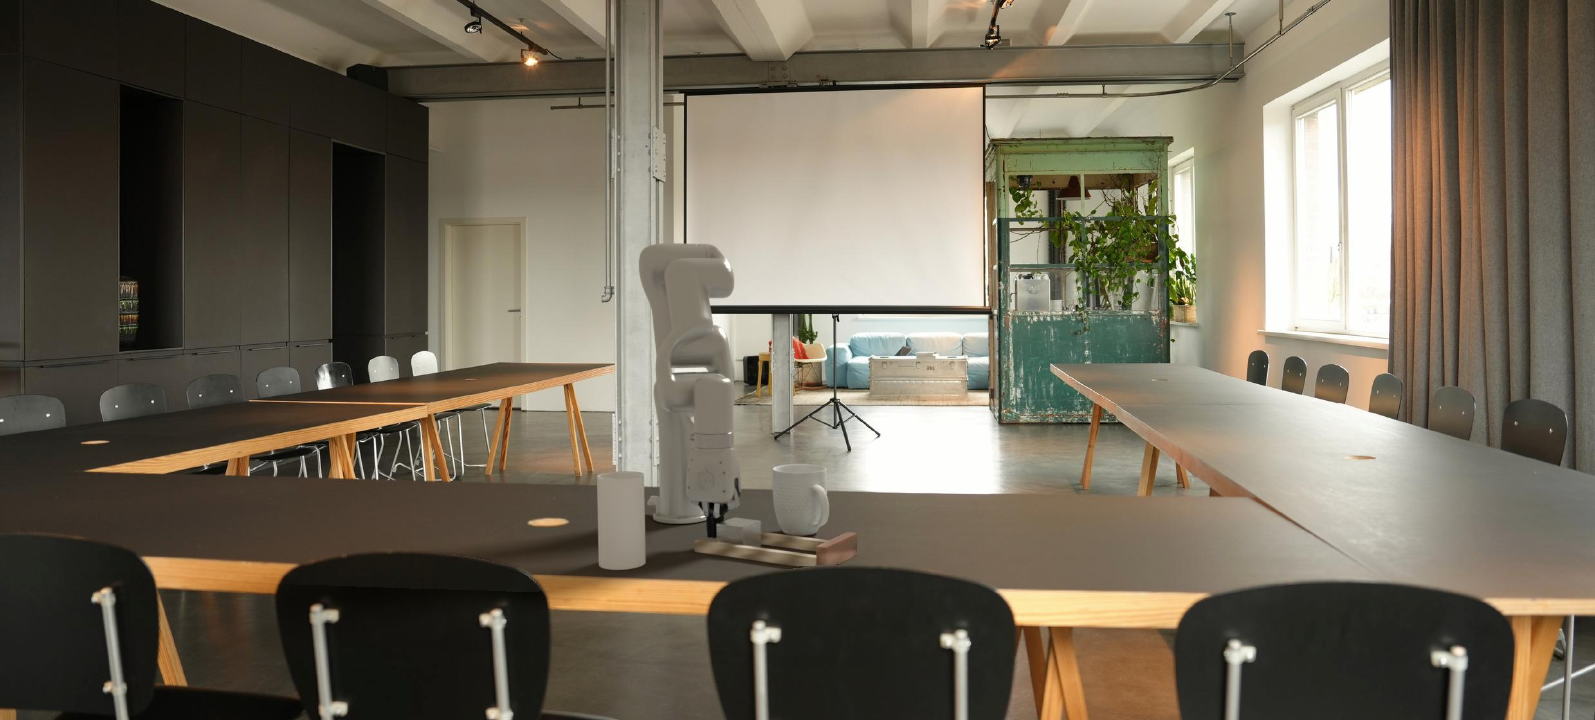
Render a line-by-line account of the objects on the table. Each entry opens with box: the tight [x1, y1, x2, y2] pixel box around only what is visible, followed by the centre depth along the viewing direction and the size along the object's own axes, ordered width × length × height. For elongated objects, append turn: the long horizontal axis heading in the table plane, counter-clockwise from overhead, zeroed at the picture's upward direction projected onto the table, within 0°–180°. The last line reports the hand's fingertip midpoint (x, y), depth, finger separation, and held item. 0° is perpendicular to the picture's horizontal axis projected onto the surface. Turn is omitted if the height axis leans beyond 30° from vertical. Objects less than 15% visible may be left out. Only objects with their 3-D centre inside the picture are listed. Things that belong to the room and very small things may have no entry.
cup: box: [596, 470, 647, 571], centre depth 171 cm, size 8×8×16 cm
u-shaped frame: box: [693, 531, 858, 568], centre depth 177 cm, size 28×12×4 cm, turn 60°
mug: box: [772, 463, 830, 537], centre depth 192 cm, size 15×11×13 cm
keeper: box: [716, 516, 762, 548], centre depth 181 cm, size 6×6×5 cm
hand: (715, 536), depth 184 cm, fingers closed
